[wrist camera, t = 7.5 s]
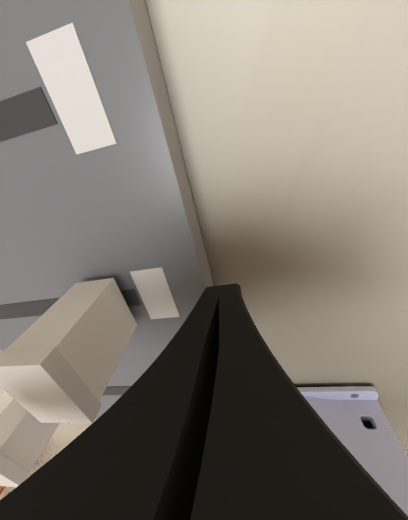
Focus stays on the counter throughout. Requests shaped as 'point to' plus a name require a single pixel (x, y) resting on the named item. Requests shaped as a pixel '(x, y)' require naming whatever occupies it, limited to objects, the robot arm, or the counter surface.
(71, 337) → the block
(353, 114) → the counter surface
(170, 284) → the breaker panel
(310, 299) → the counter surface
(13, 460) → the block
